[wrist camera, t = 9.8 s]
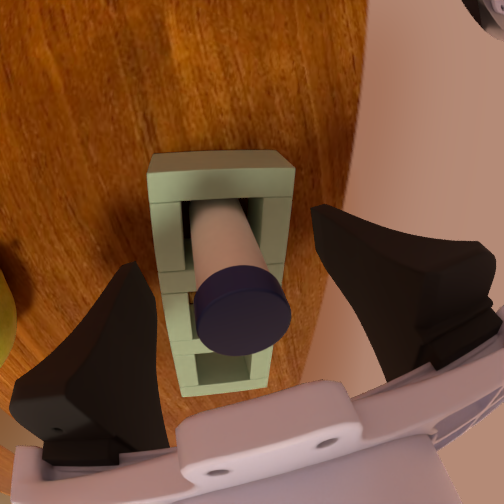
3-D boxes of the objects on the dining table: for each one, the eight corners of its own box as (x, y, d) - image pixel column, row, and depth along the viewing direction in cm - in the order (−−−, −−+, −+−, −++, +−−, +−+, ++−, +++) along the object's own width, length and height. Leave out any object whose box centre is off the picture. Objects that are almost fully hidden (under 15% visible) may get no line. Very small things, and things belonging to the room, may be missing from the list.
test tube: (234, 174, 15) (284, 275, 8) (247, 223, 17) (297, 341, 10) (178, 191, 15) (181, 307, 8) (195, 239, 17) (213, 366, 10)
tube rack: (152, 153, 14) (146, 173, 11) (276, 149, 15) (296, 167, 13) (179, 364, 22) (181, 397, 20) (257, 355, 23) (267, 387, 21)
